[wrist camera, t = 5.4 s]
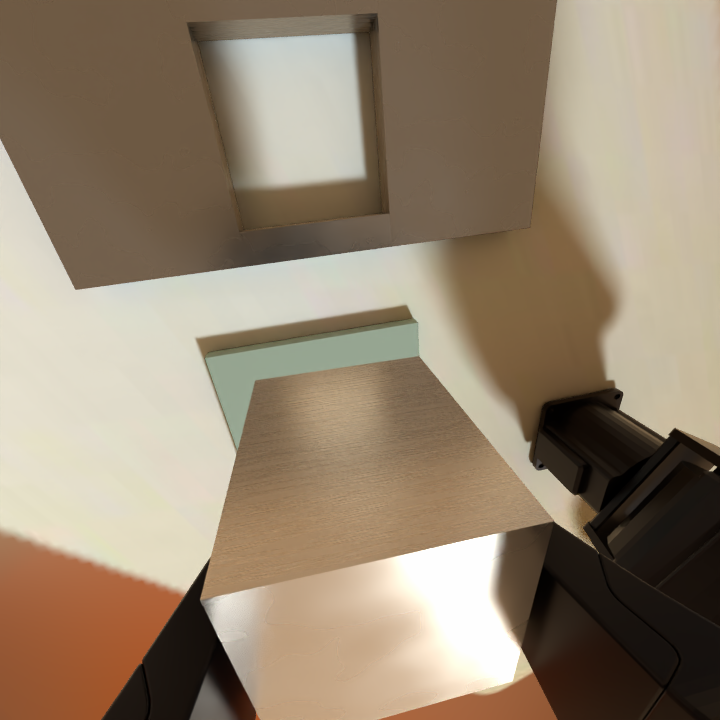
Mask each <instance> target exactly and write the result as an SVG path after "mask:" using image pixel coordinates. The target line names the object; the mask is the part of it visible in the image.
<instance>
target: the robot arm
mask: <svg viewBox="0 0 720 720" xmlns="http://www.w3.org/2000/svg"><path fill="white" fill-rule="evenodd" d="M622 397H623V392H622V391H620V390H618V389H616V388H615V389H610V390H605V391H600V392H595V393H590V394H585V395H581V396H576V397H571V398H566V399H561V400H557V401H552V402H548V403H546V404H545V405H544V406H543V408H542V413H541V418H540V424H539V430H538V436H537V441H536V447H535V453H534V459H533V466H534V467H535V468H536V469H537V470H544V469H548V470H549V471H550V472H551V473H552V474H553V475H554V476H555V477H556V478H557V479H558V480H559V481H560V482H561V483H562V484H563V485H564V486H565V487H566V488H567V489H568V490H569V491H570V492H571V493H572V494H574V495H579V496H580V497H581V498H582V499H583V500H584V501H585V502H586V503H587V504H588V505H589V506H590V507H591V508H592V509H593V510H594V511H595V512H596V513H597V515H596V516H595V517H594V518H593V519H592V521H591V522H587V523H586V525H585V526H584V527H583V529H584V530H585V532H586V533H587V535H588V536H589V538H590V540H591V542H592V543H593V545H594V546H595V548H596V549H597V551H598V552H599V554H598V552H597V551H596V550H595V549H594V548H592V547H591V546H589V545H588V544H586V543H585V542H583V541H582V540H580V539H579V538H577V537H576V536H574V535H573V534H571V533H570V532H568V531H567V530H565V529H564V528H562V527H561V526H559V525H558V524H556V523H555V522H554V524H553V528H552V532H551V536H550V539H549V543H548V547H547V551H546V555H545V558H544V562H543V566H542V570H541V574H540V578H539V581H538V585H537V589H536V593H535V597H534V600H533V604H532V608H531V612H530V616H529V619H528V623H527V627H526V631H525V635H524V638H523V642H522V646H521V648H522V650H523V652H524V654H525V656H526V658H527V660H528V662H529V664H530V666H531V668H532V670H533V672H534V674H535V676H536V678H537V680H538V682H539V684H540V685H541V688H542V690H543V692H544V694H545V696H546V698H547V700H548V702H549V704H550V706H551V708H552V709H553V711H554V713H555V715H556V717H557V719H558V720H720V448H719V447H718V446H716V445H714V444H711V443H709V442H707V441H704V440H702V439H700V438H697V437H695V436H693V435H690V434H688V433H686V432H683V431H681V430H679V429H676V428H674V429H673V430H672V431H671V432H670V433H669V434H668V435H669V437H668V438H667V439H665V438H664V437H662V436H661V435H659V434H657V433H656V432H654V431H653V430H651V429H649V428H648V427H646V426H645V425H643V424H641V423H640V422H638V421H637V420H635V419H633V418H632V417H630V416H629V415H627V414H625V413H624V412H622V411H621V410H619V407H620V404H621V401H622ZM714 465H715V466H717V468H716V469H715V470H714V471H713V472H712V471H709V470H710V469H711V468H712V467H713V466H714ZM210 558H211V557H210ZM210 558H209V560H208V561H207V563H206V564H205V566H204V567H203V569H202V570H201V572H200V573H199V575H198V576H197V578H196V579H195V581H194V582H193V584H192V585H191V587H190V588H189V590H188V591H187V593H186V594H185V596H184V597H183V599H182V600H181V602H180V604H179V605H178V607H177V608H176V610H175V611H174V613H173V614H172V616H171V617H170V619H169V620H168V622H167V623H166V625H165V626H164V628H163V629H162V631H161V632H160V634H159V635H158V637H157V638H156V640H155V641H154V643H153V644H152V646H151V647H150V649H149V650H148V652H147V653H146V655H145V656H144V658H143V660H142V663H143V664H139V665H138V667H137V668H136V669H135V671H134V673H133V674H132V676H131V677H130V678H129V680H128V682H127V683H126V685H125V686H124V687H123V689H122V690H121V692H120V693H119V695H118V696H117V698H116V699H115V701H114V702H113V704H112V705H111V706H110V708H109V709H108V711H107V712H106V714H105V715H104V717H103V718H102V719H101V720H255V718H256V710H255V708H254V706H253V704H252V702H251V700H250V698H249V696H248V694H247V693H246V691H245V689H244V687H243V685H242V683H241V681H240V679H239V677H238V675H237V673H236V671H235V669H234V667H233V665H232V663H231V661H230V659H229V657H228V655H227V653H226V651H225V649H224V647H223V645H222V643H221V641H220V639H219V637H218V635H217V633H216V631H215V629H214V627H213V625H212V623H211V621H210V619H209V617H208V615H207V613H206V611H205V609H204V607H203V605H202V603H201V601H200V598H201V594H202V590H203V586H204V582H205V578H206V574H207V570H208V566H209V562H210Z"/></svg>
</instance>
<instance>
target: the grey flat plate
mask: <svg viewBox="0 0 720 720" xmlns="http://www.w3.org/2000/svg"><path fill="white" fill-rule="evenodd" d="M556 3H557V0H0V139H1V141H2V143H3V145H4V147H5V149H6V151H7V153H8V155H9V157H10V159H11V161H12V163H13V165H14V167H15V169H16V171H17V173H18V175H19V177H20V179H21V181H22V183H23V185H24V187H25V189H26V191H27V193H28V195H29V197H30V199H31V201H32V203H33V205H34V207H35V209H36V211H37V213H38V215H39V217H40V219H41V221H42V223H43V225H44V227H45V229H46V231H47V233H48V235H49V237H50V239H51V241H52V243H53V245H54V247H55V249H56V251H57V253H58V255H59V257H60V259H61V261H62V263H63V265H64V267H65V269H66V271H67V274H68V276H69V278H70V280H71V282H72V284H73V286H74V288H75V290H78V289H85V288H92V287H100V286H107V285H114V284H121V283H129V282H136V281H143V280H151V279H158V278H165V277H173V276H180V275H187V274H195V273H202V272H209V271H216V270H224V269H231V268H238V267H246V266H253V265H260V264H268V263H275V262H282V261H290V260H297V259H304V258H311V257H319V256H326V255H333V254H341V253H348V252H355V251H363V250H370V249H377V248H385V247H392V246H399V245H406V244H414V243H421V242H428V241H436V240H443V239H450V238H458V237H465V236H472V235H480V234H487V233H494V232H501V231H509V230H516V229H523V228H530V223H531V215H532V206H533V198H534V189H535V181H536V173H537V164H538V156H539V147H540V139H541V130H542V122H543V113H544V105H545V96H546V88H547V79H548V71H549V62H550V54H551V45H552V37H553V29H554V20H555V12H556ZM360 32H370V45H371V60H372V74H373V89H374V103H375V118H376V132H377V147H378V162H379V176H380V191H381V205H382V213H378V214H370V215H362V216H354V217H346V218H338V219H330V220H322V221H314V222H306V223H297V224H289V225H281V226H273V227H265V228H257V229H249V230H244V229H243V225H242V220H241V216H240V212H239V208H238V204H237V200H236V196H235V192H234V188H233V184H232V180H231V176H230V172H229V168H228V164H227V159H226V155H225V151H224V147H223V143H222V139H221V135H220V131H219V127H218V123H217V119H216V115H215V111H214V107H213V103H212V98H211V94H210V90H209V86H208V82H207V78H206V74H205V70H204V66H203V62H202V58H201V54H200V50H199V46H198V42H197V41H215V40H233V39H252V38H270V37H288V36H306V35H324V34H342V33H360Z"/></svg>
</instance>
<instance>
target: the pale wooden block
mask: <svg viewBox="0 0 720 720" xmlns="http://www.w3.org/2000/svg"><path fill="white" fill-rule="evenodd" d="M553 524H554V520H553V519H552V518H551V516H550V515H549V514H548V513H547V512H546V510H545V509H544V508H543V507H542V506H541V504H540V503H539V502H538V501H537V499H536V498H535V497H534V496H533V495H532V493H531V492H530V491H529V490H528V488H527V487H526V486H525V485H524V484H523V482H522V481H521V480H520V479H519V478H518V476H517V475H516V474H515V473H514V471H513V470H512V469H511V468H510V467H509V465H508V464H507V463H506V462H505V460H504V459H503V458H502V457H501V456H500V454H499V453H498V452H497V451H496V449H495V448H494V447H493V446H492V445H491V443H490V442H489V441H488V440H487V439H486V437H485V436H484V435H483V434H482V432H481V431H480V430H479V429H478V428H477V426H476V425H475V424H474V423H473V421H472V420H471V419H470V418H469V417H468V415H467V414H466V413H465V412H464V411H463V409H462V408H461V407H460V406H459V404H458V403H457V402H456V401H455V400H454V398H453V397H452V396H451V395H450V393H449V392H448V391H447V390H446V389H445V387H444V386H443V385H442V384H441V382H440V381H439V380H438V379H437V378H436V376H435V375H434V374H433V373H432V372H431V370H430V369H429V368H428V367H427V365H426V364H425V363H424V362H423V361H422V359H421V358H420V357H419V356H416V357H409V358H403V359H396V360H389V361H382V362H376V363H369V364H362V365H355V366H349V367H342V368H335V369H328V370H322V371H315V372H308V373H301V374H295V375H288V376H281V377H274V378H268V379H261V380H255V383H254V387H253V391H252V395H251V399H250V403H249V407H248V411H247V415H246V419H245V423H244V427H243V431H242V435H241V439H240V443H239V447H238V451H237V455H236V459H235V463H234V467H233V471H232V475H231V479H230V483H229V487H228V491H227V495H226V499H225V503H224V507H223V511H222V515H221V519H220V523H219V527H218V531H217V535H216V539H215V543H214V547H213V551H212V555H211V558H210V562H209V566H208V570H207V574H206V578H205V582H204V586H203V590H202V594H201V598H200V601H201V603H202V605H203V607H204V609H205V611H206V613H207V615H208V617H209V619H210V621H211V623H212V625H213V627H214V629H215V631H216V633H217V635H218V637H219V639H220V641H221V643H222V645H223V647H224V649H225V651H226V653H227V655H228V657H229V659H230V661H231V663H232V665H233V667H234V669H235V671H236V673H237V675H238V677H239V679H240V681H241V683H242V685H243V687H244V689H245V691H246V693H247V694H248V696H249V698H250V700H251V702H252V704H253V706H254V708H255V710H256V712H257V714H258V716H259V718H260V720H378V719H381V718H385V717H388V716H392V715H395V714H398V713H402V712H406V711H409V710H413V709H416V708H420V707H423V706H427V705H430V704H434V703H437V702H441V701H445V700H448V699H452V698H455V697H458V696H462V695H466V694H469V693H473V692H476V691H480V690H483V689H487V688H491V687H494V686H498V685H501V684H505V683H508V682H512V680H513V677H514V673H515V669H516V665H517V661H518V657H519V654H520V650H521V646H522V642H523V638H524V635H525V631H526V627H527V623H528V619H529V616H530V612H531V608H532V604H533V600H534V597H535V593H536V589H537V585H538V581H539V578H540V574H541V570H542V566H543V562H544V558H545V555H546V551H547V547H548V543H549V539H550V536H551V532H552V528H553Z"/></svg>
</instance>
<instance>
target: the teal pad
mask: <svg viewBox="0 0 720 720" xmlns="http://www.w3.org/2000/svg"><path fill="white" fill-rule="evenodd" d="M416 356H419V339H418V322H417V321H416V320H415V319H414V318H413V319H407V320H401V321H395V322H389V323H383V324H377V325H371V326H365V327H359V328H353V329H347V330H341V331H335V332H328V333H322V334H316V335H310V336H304V337H298V338H292V339H286V340H280V341H274V342H268V343H262V344H256V345H250V346H244V347H238V348H232V349H226V350H220V351H214V352H208V354H207V355H206V357H205V360H206V363H207V366H208V369H209V372H210V374H211V377H212V380H213V383H214V386H215V389H216V391H217V394H218V397H219V400H220V403H221V406H222V408H223V411H224V414H225V417H226V420H227V423H228V425H229V428H230V431H231V434H232V437H233V440H234V442H235V445H236V448H237V451H238V447H239V443H240V439H241V435H242V431H243V427H244V423H245V419H246V415H247V411H248V407H249V403H250V399H251V395H252V391H253V387H254V383H255V380H261V379H268V378H274V377H281V376H288V375H295V374H301V373H308V372H315V371H322V370H328V369H335V368H342V367H349V366H355V365H362V364H369V363H376V362H382V361H389V360H396V359H403V358H409V357H416Z"/></svg>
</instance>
